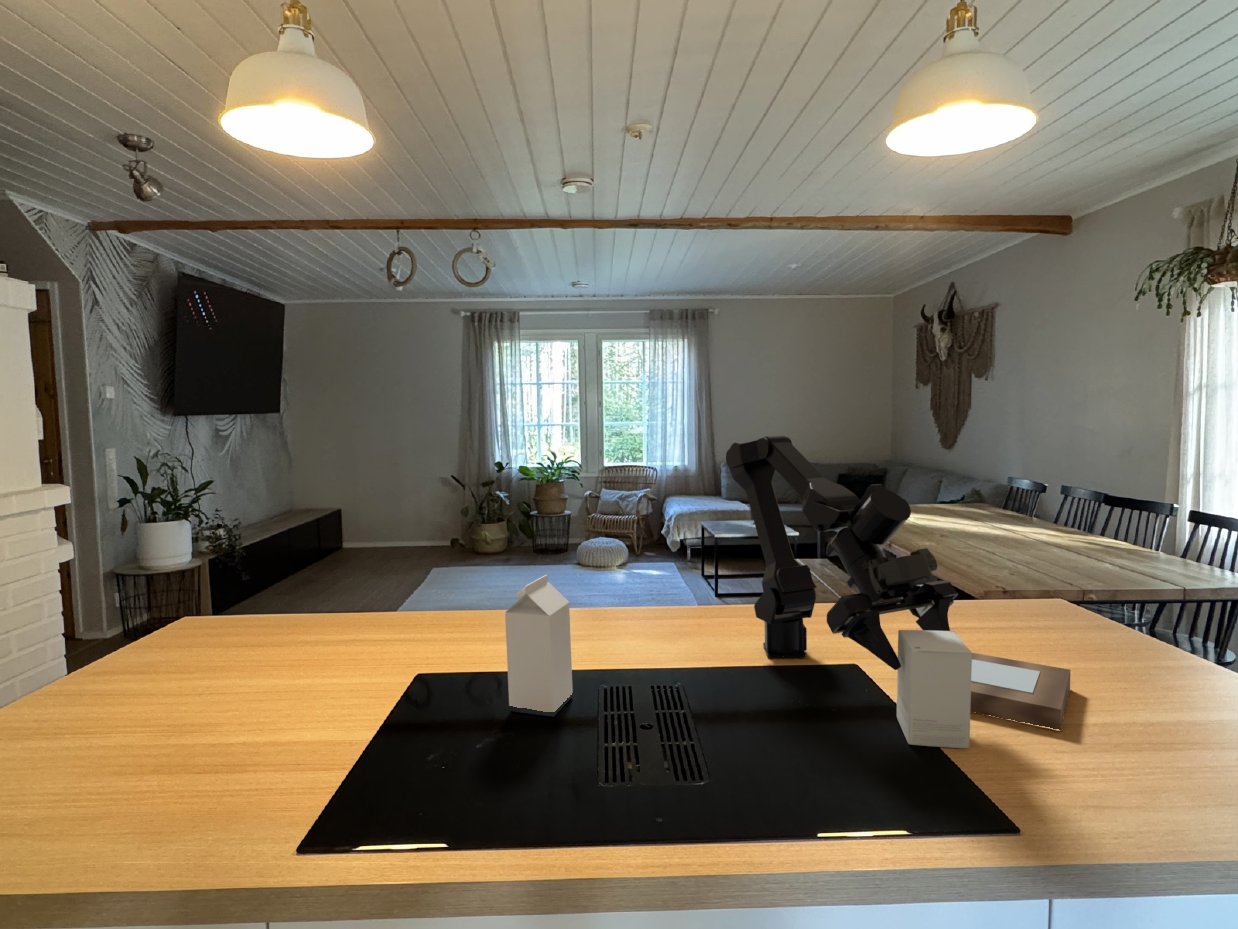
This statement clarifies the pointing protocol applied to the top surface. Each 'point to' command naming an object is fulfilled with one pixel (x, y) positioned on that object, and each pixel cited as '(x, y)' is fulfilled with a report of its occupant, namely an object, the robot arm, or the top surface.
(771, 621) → the robot arm
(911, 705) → the supplement box
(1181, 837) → the top surface
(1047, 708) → the plinth
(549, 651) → the milk carton
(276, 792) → the top surface
